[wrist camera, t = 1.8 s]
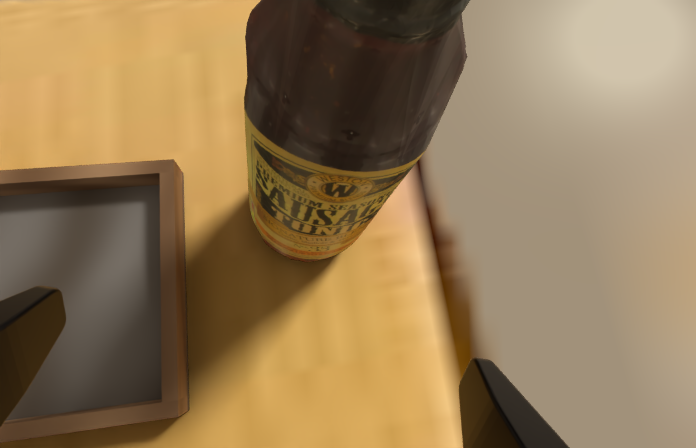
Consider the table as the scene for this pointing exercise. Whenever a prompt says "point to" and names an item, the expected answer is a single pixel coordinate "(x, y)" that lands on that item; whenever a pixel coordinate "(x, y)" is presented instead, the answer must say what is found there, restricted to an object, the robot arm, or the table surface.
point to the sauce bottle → (341, 111)
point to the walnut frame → (100, 292)
